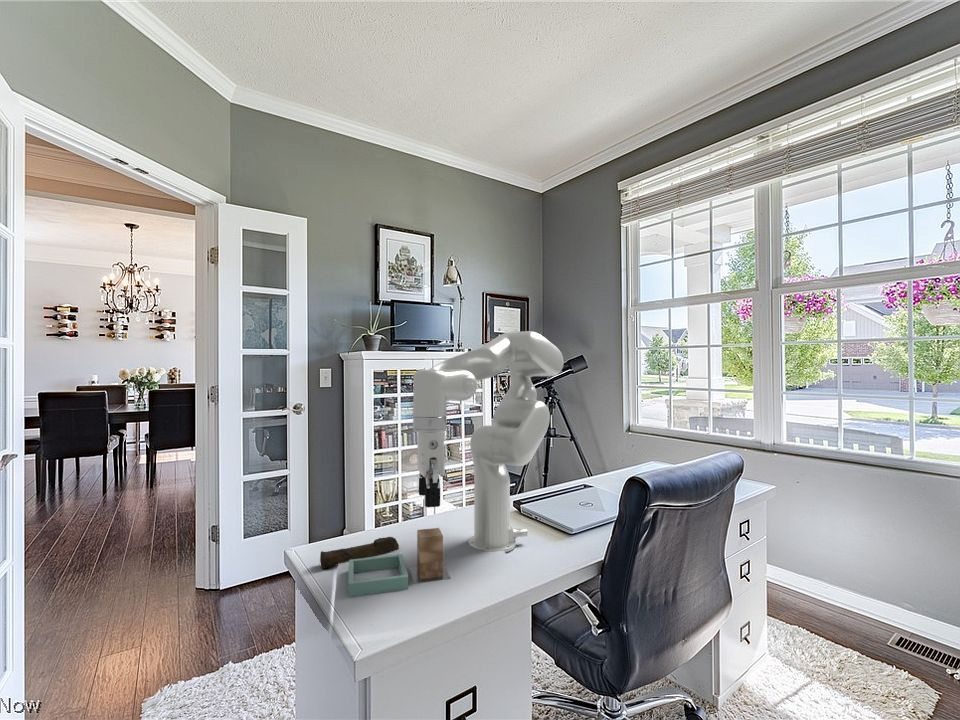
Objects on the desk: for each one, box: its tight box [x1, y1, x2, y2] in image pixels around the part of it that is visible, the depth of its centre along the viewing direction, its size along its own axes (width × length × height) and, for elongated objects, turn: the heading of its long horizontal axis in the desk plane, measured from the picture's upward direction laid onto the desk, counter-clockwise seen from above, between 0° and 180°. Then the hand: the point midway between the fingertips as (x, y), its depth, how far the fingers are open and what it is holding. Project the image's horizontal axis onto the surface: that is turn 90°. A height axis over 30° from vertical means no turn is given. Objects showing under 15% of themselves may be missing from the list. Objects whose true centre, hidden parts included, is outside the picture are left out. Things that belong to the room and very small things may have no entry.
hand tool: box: [319, 536, 400, 570], centre depth 110 cm, size 19×4×5 cm, turn 115°
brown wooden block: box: [416, 527, 444, 579], centre depth 101 cm, size 5×5×9 cm
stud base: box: [409, 563, 451, 585], centre depth 101 cm, size 8×8×4 cm
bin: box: [347, 553, 409, 598], centre depth 98 cm, size 12×12×4 cm
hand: (428, 500), depth 101 cm, fingers open, 9 cm apart
